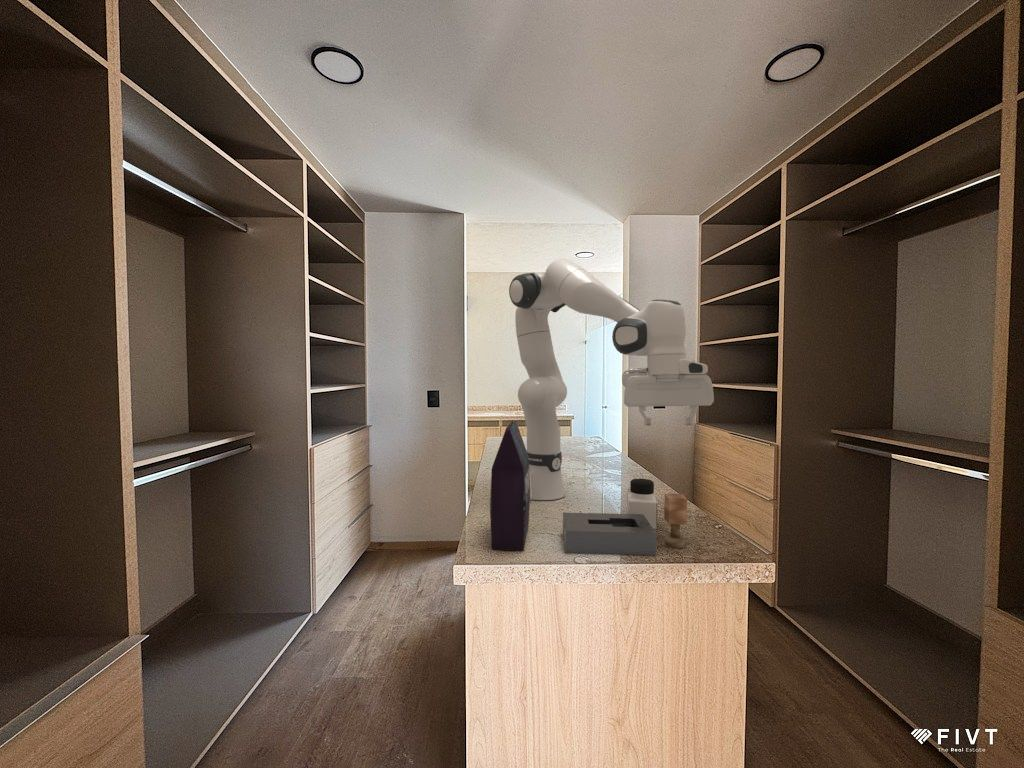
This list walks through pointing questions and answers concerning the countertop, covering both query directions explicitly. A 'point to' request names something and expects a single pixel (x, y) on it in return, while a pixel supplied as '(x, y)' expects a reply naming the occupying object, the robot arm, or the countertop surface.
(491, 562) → the countertop surface
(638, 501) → the medicine bottle
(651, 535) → the keyhole plate
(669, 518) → the slider
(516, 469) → the decorative box
